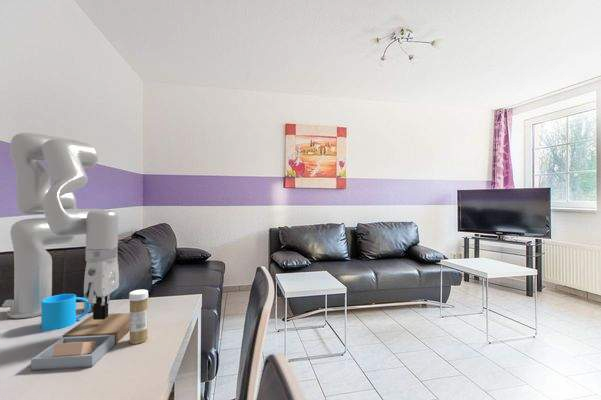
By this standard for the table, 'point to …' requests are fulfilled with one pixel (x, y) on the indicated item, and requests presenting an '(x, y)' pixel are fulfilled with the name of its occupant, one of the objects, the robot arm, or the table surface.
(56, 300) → the mug
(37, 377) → the table surface
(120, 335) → the board
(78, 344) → the tile
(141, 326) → the sprinkles bottle
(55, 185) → the robot arm
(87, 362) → the tray
